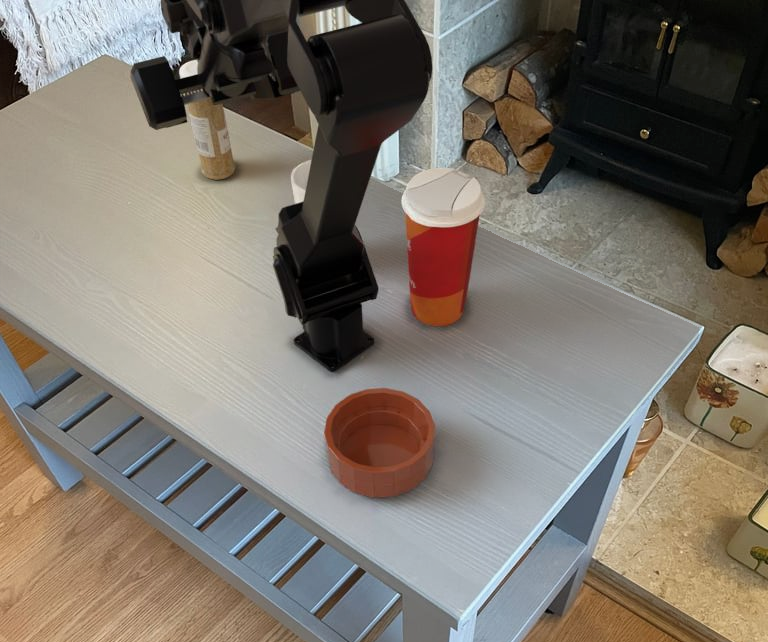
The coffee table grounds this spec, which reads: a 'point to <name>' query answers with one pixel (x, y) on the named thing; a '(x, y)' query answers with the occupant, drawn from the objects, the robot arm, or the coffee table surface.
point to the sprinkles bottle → (209, 132)
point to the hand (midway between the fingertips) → (214, 104)
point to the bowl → (380, 442)
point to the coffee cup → (441, 241)
